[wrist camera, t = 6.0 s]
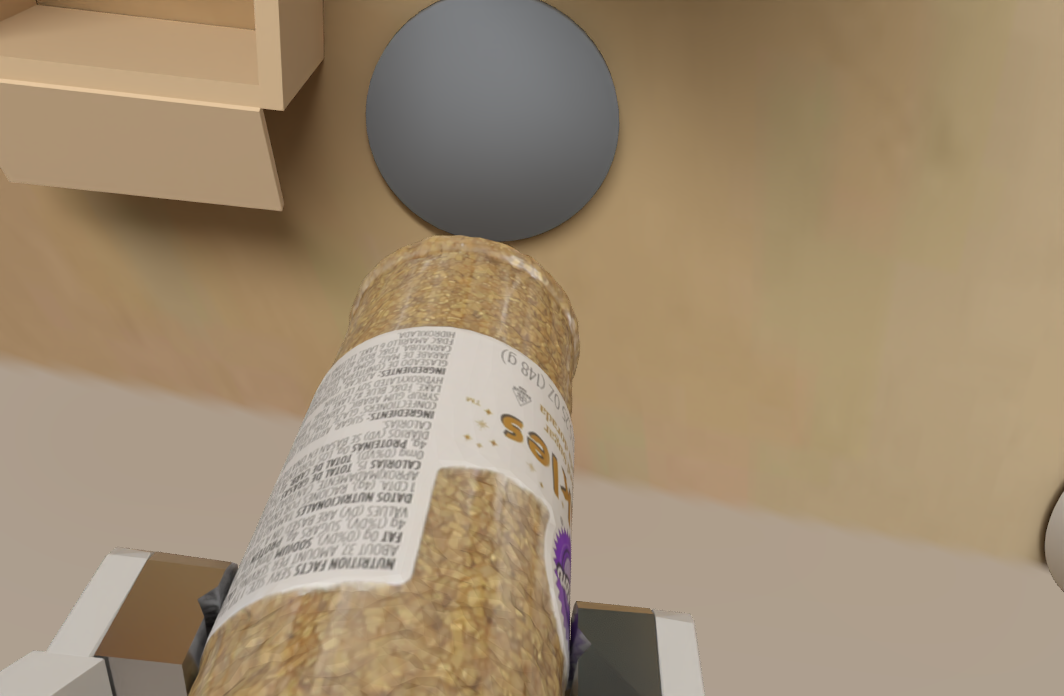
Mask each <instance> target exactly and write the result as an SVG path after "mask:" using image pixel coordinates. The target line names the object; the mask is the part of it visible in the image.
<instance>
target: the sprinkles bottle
mask: <svg viewBox="0 0 1064 696" xmlns="http://www.w3.org/2000/svg"><path fill="white" fill-rule="evenodd" d="M579 355H580V341H579V332H578V320H577V317H576V315H575V313H574V311H573V309H572V306H571V303H570V301H569V298H568V296H567V295H566V293H565V291H564V290H563V289H562V287H561V286H560V285H559V284H558V283H557V282H556V281H555V280H554V279H553V277H552V276H551V275H550V273H548V272H547V271H546V270H545V269H543V268H542V266H541V265H540V264H539V263H538V262H537V261H536V260H534V259H533V258H532V257H530V256H529V255H525V254H522V253H520V252H519V251H517V250H516V249H514V248H513V247H511V246H509V245H506V244H503V243H500V242H496V241H492V240H488V239H484V238H479V237H468V236H463V235H455V236H444V235H441V236H431V237H428V238H425V239H423V240H421V241H419V242H417V243H414V244H411V245H408V246H405V247H402V248H400V249H399V250H397V251H396V252H394V253H392V254H390V255H389V256H387V257H385V258H384V259H382V260H381V261H380V262H379V263H378V265H377V266H376V267H375V268H374V269H373V270H372V271H371V272H370V273H369V274H368V275H367V276H366V277H365V279H364V280H363V282H362V284H361V286H360V288H359V291H358V294H357V296H356V299H355V301H354V303H353V305H352V308H351V312H350V317H349V328H348V331H347V333H346V337H345V340H344V342H343V344H342V346H341V348H340V350H339V352H338V354H337V357H336V358H335V361H334V363H333V365H332V368H331V369H330V370H329V371H328V373H327V374H326V376H325V377H324V379H323V380H322V382H321V384H320V386H319V387H318V389H317V391H316V393H315V395H314V398H313V400H312V402H311V404H310V407H309V409H308V411H307V413H306V416H305V418H304V420H303V422H302V425H301V427H300V429H299V432H298V434H297V436H296V439H295V441H294V443H293V446H292V448H291V450H290V453H289V455H288V457H287V459H286V462H285V464H284V466H283V468H282V471H281V473H280V475H279V477H278V480H277V482H276V484H275V486H274V489H273V491H272V493H271V495H270V498H269V500H268V502H267V505H266V507H265V509H264V511H263V514H262V516H261V518H260V521H259V523H258V525H257V527H256V530H255V532H254V534H253V536H252V539H251V541H250V543H249V546H248V548H247V550H246V552H245V555H244V557H243V559H242V561H241V564H240V566H239V568H238V571H237V573H236V575H235V577H234V580H233V582H232V584H231V587H230V589H229V591H228V593H227V596H226V598H225V600H224V602H223V605H222V607H221V609H220V612H219V614H218V616H217V618H216V621H215V623H214V625H213V627H212V630H211V632H210V634H209V637H208V639H207V642H206V644H205V647H204V650H203V653H202V655H201V658H200V662H199V673H198V675H197V677H196V679H195V681H194V684H193V686H192V688H191V690H190V693H189V696H565V691H566V688H567V684H568V678H569V666H570V577H571V527H572V505H573V477H574V433H573V426H572V422H571V413H572V379H573V377H574V375H575V371H576V368H577V364H578V360H579Z"/></svg>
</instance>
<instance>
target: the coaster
mask: <svg viewBox="0 0 1064 696" xmlns="http://www.w3.org/2000/svg"><path fill="white" fill-rule="evenodd" d="M366 126H367V134H368V139H369V144H370V148H371V151H372V154H373V157H374V160H375V162H376V164H377V166H378V168H379V170H380V172H381V174H382V176H383V178H384V179H385V181H386V182H387V184H388V185H389V187H390V188H391V190H392V191H393V192H394V193H395V194H396V196H397V197H398V198H399V199H400V200H401V201H402V202H403V203H404V204H405V205H406V206H407V207H408V208H409V209H410V210H411V211H412V212H414V213H415V214H417V215H418V216H419V217H421V218H422V219H423V220H425V221H426V222H428V223H430V224H432V225H434V226H435V227H437V228H439V229H441V230H444V231H446V232H448V233H451V234H454V235H463V236H468V237H479V238H484V239H488V240H492V241H496V242H501V241H514V240H519V239H524V238H529V237H532V236H535V235H538V234H541V233H544V232H546V231H548V230H550V229H553V228H555V227H557V226H558V225H560V224H562V223H563V222H565V221H566V220H568V219H569V218H571V217H572V216H573V215H574V214H576V213H577V212H578V211H579V210H581V209H582V208H583V207H584V205H585V204H586V203H587V202H588V201H589V200H590V199H591V198H592V197H593V195H594V194H595V193H596V191H597V190H598V189H599V187H600V186H601V184H602V182H603V180H604V179H605V177H606V175H607V173H608V171H609V169H610V166H611V163H612V161H613V158H614V155H615V150H616V146H617V142H618V132H619V109H618V103H617V97H616V92H615V87H614V84H613V81H612V77H611V74H610V71H609V69H608V67H607V65H606V63H605V60H604V58H603V56H602V55H601V53H600V52H599V50H598V49H597V47H596V45H595V44H594V42H593V41H592V40H591V39H590V38H589V36H588V35H587V34H586V33H585V32H584V30H583V29H582V28H581V27H579V26H578V25H577V24H576V23H575V22H574V21H573V20H572V19H570V18H569V17H568V16H566V15H565V14H563V13H562V12H561V11H559V10H558V9H556V8H555V7H553V6H551V5H548V4H546V3H544V2H542V1H540V0H440V1H437V2H436V3H434V4H432V5H430V6H428V7H427V8H425V9H423V10H421V11H420V12H419V13H418V14H416V15H415V16H414V17H412V18H411V19H410V20H408V21H407V22H406V23H405V24H404V26H403V27H402V28H401V29H400V30H399V31H398V32H397V33H396V34H395V35H394V37H393V38H392V40H391V41H390V42H389V44H388V45H387V47H386V48H385V50H384V52H383V54H382V56H381V57H380V59H379V61H378V63H377V65H376V67H375V70H374V73H373V76H372V78H371V81H370V85H369V90H368V95H367V103H366Z"/></svg>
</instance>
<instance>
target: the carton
mask: <svg viewBox="0 0 1064 696" xmlns="http://www.w3.org/2000/svg"><path fill="white" fill-rule="evenodd" d="M254 13H255V29H256V30H248V29H240V28H231V27H223V26H214V25H206V24H197V23H189V22H180V21H171V20H163V19H154V18H146V17H137V16H129V15H120V14H112V13H103V12H95V11H86V10H78V9H69V8H61V7H52V6H44V5H37V3H36V0H0V167H1V169H2V170H3V172H4V174H5V175H6V177H7V179H8V180H9V182H15V183H24V184H34V185H43V186H52V187H62V188H71V189H80V190H90V191H99V192H108V193H118V194H127V195H136V196H146V197H155V198H164V199H174V200H183V201H192V202H201V203H211V204H220V205H229V206H239V207H248V208H257V209H267V210H276V211H282V210H283V206H284V200H283V196H282V191H281V187H280V183H279V178H278V174H277V169H276V165H275V160H274V156H273V152H272V147H271V143H270V138H269V134H268V129H267V125H266V120H265V116H264V112H263V109H271V110H280V111H284V110H285V108H286V107H287V106H288V104H289V103H290V102H291V100H292V99H293V98H294V97H295V95H296V94H297V93H298V91H299V90H300V89H301V87H302V86H303V85H304V84H305V82H306V81H307V80H308V78H309V77H310V76H311V74H312V73H313V72H314V71H315V69H316V68H317V67H318V65H319V64H320V63H321V61H322V60H323V59H324V30H323V0H254Z"/></svg>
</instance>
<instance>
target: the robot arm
mask: <svg viewBox="0 0 1064 696" xmlns="http://www.w3.org/2000/svg"><path fill="white" fill-rule="evenodd" d="M1045 556H1046V561H1047V565H1048V568H1049V571H1050V573H1051V575H1052V577H1053V579H1054V580H1055V582H1056V583H1057V585H1058V586H1059V587H1060V588H1061V590H1062V591H1063V592H1064V492H1063V493H1062V495H1061V497H1060V498H1059V500H1058V502H1057V504H1056V506H1055V508H1054V510H1053V512H1052V515H1051V517H1050V520H1049V523H1048V527H1047V531H1046V538H1045ZM237 571H238V565H237V564H235V563H232V562H225V561H219V560H212V559H205V558H198V557H191V556H184V555H177V554H170V553H162V552H153V551H145V550H138V549H130V548H122V547H116V548H115V549H114V550H113V551H111V552H110V553H109V554H108V555H107V556H105V558H104V559H103V561H102V563H101V564H100V566H99V567H98V569H97V571H96V572H95V574H94V575H93V577H92V579H91V580H90V582H89V584H88V585H87V587H86V588H85V590H84V592H83V593H82V595H81V596H80V598H79V599H78V601H77V602H76V604H75V606H74V607H73V609H72V611H71V612H70V614H69V615H68V617H67V618H66V620H65V622H64V623H63V625H62V627H61V628H60V630H59V631H58V633H57V634H56V636H55V638H54V639H53V641H52V642H51V644H50V646H49V647H48V649H47V651H46V652H45V651H32V652H30V653H29V654H27V655H26V656H24V657H23V658H21V659H19V660H18V661H16V662H15V663H13V664H11V665H10V666H8V667H6V668H5V669H3V670H2V671H0V696H189V693H190V690H191V688H192V686H193V684H194V681H195V679H196V677H197V675H198V673H199V662H200V658H201V655H202V653H203V650H204V647H205V644H206V642H207V639H208V637H209V634H210V632H211V630H212V627H213V625H214V623H215V621H216V618H217V616H218V614H219V612H220V609H221V607H222V605H223V602H224V600H225V598H226V596H227V593H228V591H229V589H230V587H231V584H232V582H233V580H234V577H235V575H236V573H237ZM565 696H705V690H704V684H703V677H702V670H701V663H700V656H699V649H698V642H697V635H696V628H695V621H694V619H693V617H692V616H691V614H689V613H680V612H672V611H663V610H654V609H653V610H650V609H649V608H640V607H631V606H620V605H611V604H601V603H590V602H582V601H576V603H575V605H574V608H573V613H572V618H571V638H570V666H569V678H568V684H567V688H566V691H565Z"/></svg>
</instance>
